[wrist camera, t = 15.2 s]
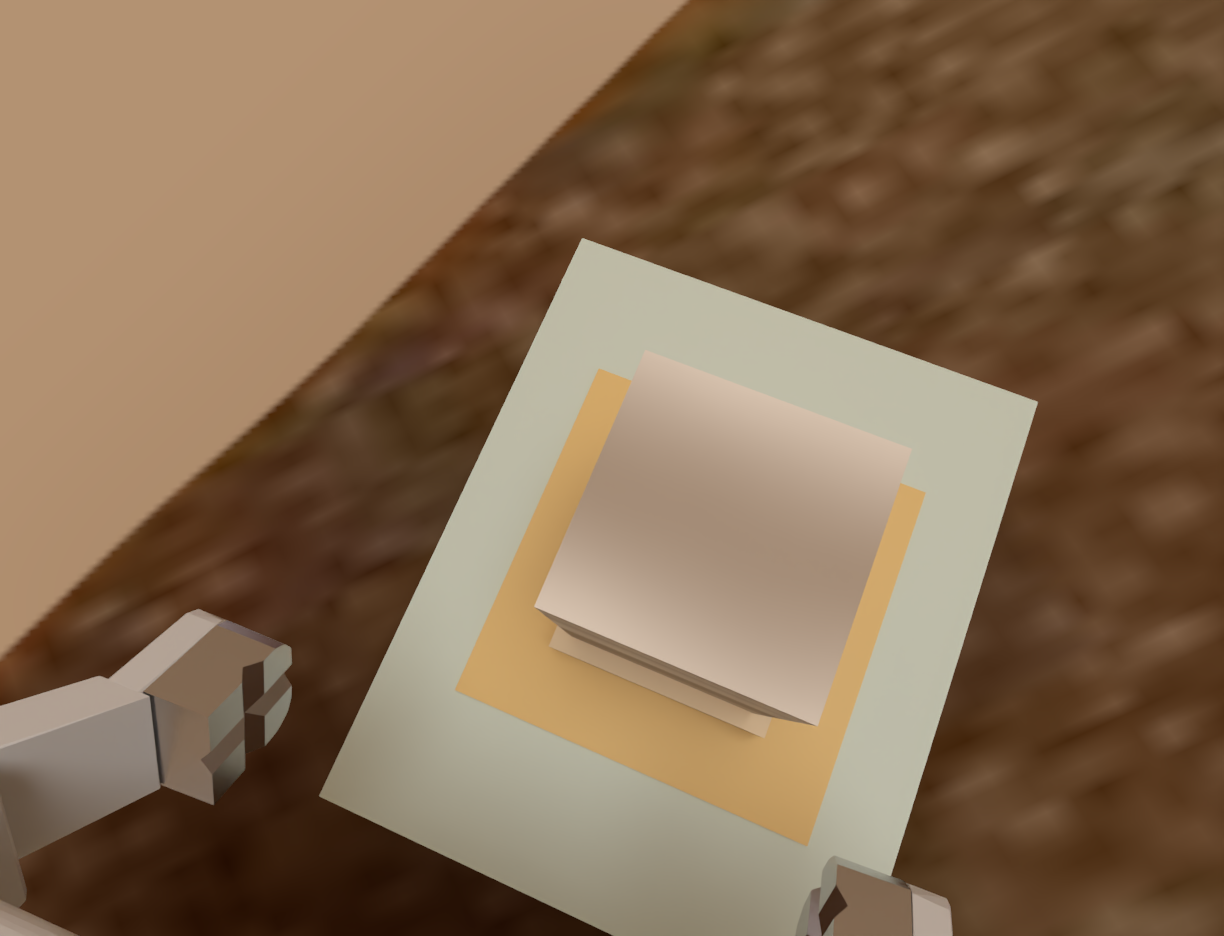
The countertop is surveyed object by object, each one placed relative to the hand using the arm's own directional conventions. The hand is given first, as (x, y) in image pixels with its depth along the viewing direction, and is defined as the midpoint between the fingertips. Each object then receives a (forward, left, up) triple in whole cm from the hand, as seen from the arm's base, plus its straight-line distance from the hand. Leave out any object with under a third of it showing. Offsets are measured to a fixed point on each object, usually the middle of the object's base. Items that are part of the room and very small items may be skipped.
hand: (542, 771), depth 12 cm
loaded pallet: (+4, -1, -8) cm, 10 cm away
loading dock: (+4, -1, -13) cm, 13 cm away
